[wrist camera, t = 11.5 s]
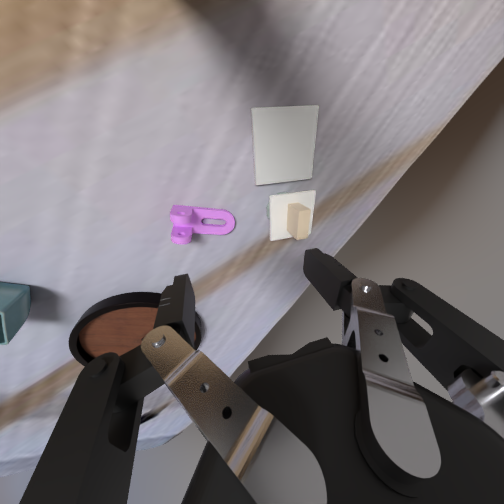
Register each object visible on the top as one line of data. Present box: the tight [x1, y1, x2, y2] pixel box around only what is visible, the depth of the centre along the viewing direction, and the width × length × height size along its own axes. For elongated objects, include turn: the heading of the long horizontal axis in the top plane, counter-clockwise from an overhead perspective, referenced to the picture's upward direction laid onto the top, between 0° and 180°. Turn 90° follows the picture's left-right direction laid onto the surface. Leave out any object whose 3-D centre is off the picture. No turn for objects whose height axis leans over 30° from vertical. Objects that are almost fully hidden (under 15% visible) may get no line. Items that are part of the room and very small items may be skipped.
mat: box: [251, 105, 319, 185], centre depth 36 cm, size 13×13×1 cm
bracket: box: [170, 205, 235, 244], centre depth 37 cm, size 13×6×7 cm, turn 80°
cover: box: [269, 190, 316, 241], centre depth 37 cm, size 10×10×6 cm
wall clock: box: [69, 292, 201, 366], centre depth 51 cm, size 31×4×31 cm
